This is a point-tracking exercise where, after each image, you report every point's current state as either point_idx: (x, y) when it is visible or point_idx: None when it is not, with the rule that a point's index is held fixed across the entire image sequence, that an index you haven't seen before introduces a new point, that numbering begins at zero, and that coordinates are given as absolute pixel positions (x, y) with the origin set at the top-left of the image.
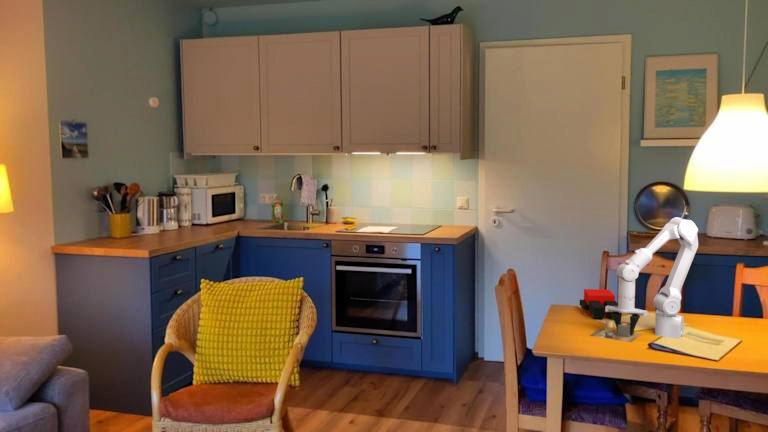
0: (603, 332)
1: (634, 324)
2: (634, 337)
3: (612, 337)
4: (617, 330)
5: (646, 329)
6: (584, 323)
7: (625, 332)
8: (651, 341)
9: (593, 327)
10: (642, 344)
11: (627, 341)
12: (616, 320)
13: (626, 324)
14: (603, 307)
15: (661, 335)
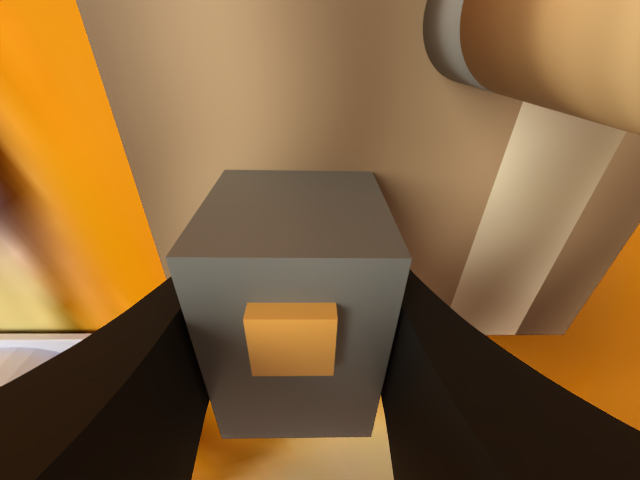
0: (544, 229)
1: (74, 355)
2: (171, 213)
3: (424, 20)
4: (386, 203)
5: (254, 452)
6: (630, 412)
7: (256, 195)
8: (55, 258)
9: (582, 373)
10: (24, 90)
11: None
12: (476, 373)
13: (244, 328)
14: None
15: (14, 368)
